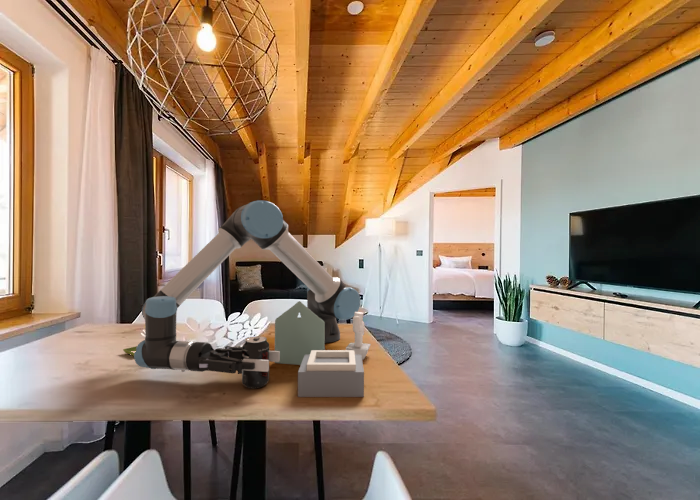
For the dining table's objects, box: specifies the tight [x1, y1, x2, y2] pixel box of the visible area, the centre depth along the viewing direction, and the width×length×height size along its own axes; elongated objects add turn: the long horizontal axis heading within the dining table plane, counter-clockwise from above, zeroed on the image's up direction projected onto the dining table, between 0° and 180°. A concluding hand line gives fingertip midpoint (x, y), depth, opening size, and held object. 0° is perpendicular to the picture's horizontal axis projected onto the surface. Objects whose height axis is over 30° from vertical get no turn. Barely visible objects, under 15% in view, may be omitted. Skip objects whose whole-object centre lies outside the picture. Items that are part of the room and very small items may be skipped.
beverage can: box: [241, 335, 270, 389], centre depth 89 cm, size 7×7×12 cm
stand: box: [297, 349, 365, 398], centre depth 89 cm, size 14×16×8 cm
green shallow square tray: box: [122, 345, 138, 357], centre depth 116 cm, size 9×9×2 cm
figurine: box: [345, 311, 371, 360], centre depth 113 cm, size 7×9×15 cm
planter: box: [274, 301, 326, 366], centre depth 109 cm, size 16×8×20 cm, turn 78°
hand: (273, 361), depth 88 cm, fingers closed on beverage can, 7 cm apart
